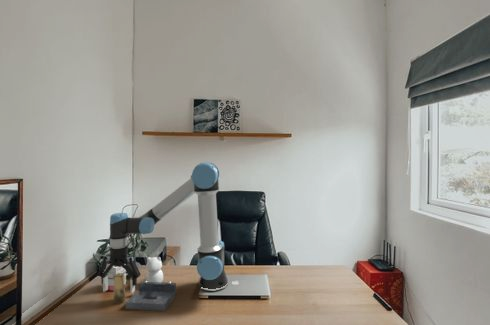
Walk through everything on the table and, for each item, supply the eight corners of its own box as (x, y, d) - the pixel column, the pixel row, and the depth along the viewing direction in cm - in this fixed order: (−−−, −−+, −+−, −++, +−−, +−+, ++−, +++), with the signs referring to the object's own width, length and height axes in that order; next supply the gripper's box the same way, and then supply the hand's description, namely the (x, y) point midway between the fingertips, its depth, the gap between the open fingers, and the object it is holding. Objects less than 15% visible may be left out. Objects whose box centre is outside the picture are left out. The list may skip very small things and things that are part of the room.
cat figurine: (143, 289, 138) (142, 260, 138) (149, 278, 151) (149, 251, 150) (161, 288, 139) (160, 259, 139) (166, 277, 151) (165, 251, 151)
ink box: (115, 291, 136) (115, 267, 136) (107, 290, 137) (106, 267, 137) (126, 283, 144) (126, 261, 144) (118, 283, 145) (118, 261, 145)
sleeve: (126, 298, 129) (126, 273, 129) (121, 303, 124) (121, 277, 124) (117, 297, 129) (117, 272, 129) (112, 302, 125) (111, 277, 125)
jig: (176, 295, 131) (175, 281, 131) (164, 310, 117) (164, 295, 117) (140, 293, 133) (140, 280, 133) (125, 309, 119) (125, 293, 119)
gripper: (147, 244, 129) (148, 288, 129) (99, 243, 132) (99, 286, 132) (140, 249, 122) (140, 296, 122) (88, 248, 124) (88, 293, 124)
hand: (119, 291), depth 127 cm, fingers open, 13 cm apart
